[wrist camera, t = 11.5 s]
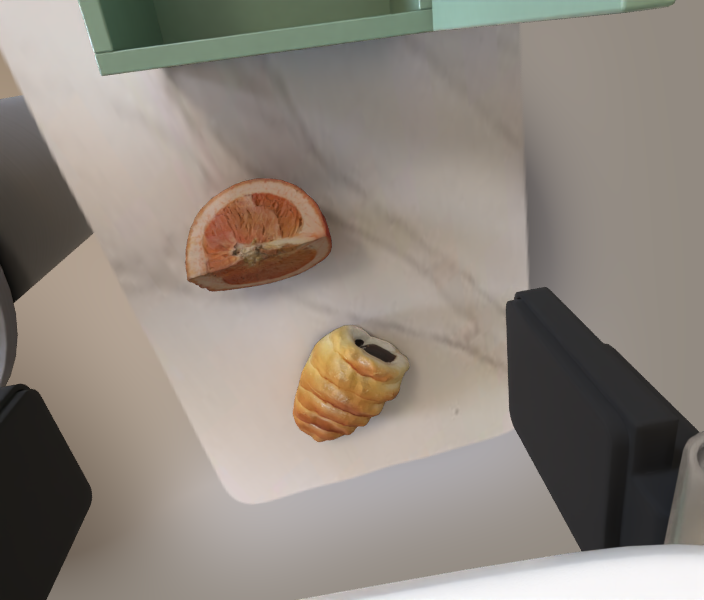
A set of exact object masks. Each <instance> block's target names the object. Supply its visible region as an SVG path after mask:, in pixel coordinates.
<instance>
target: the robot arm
mask: <svg viewBox="0 0 704 600" xmlns="http://www.w3.org/2000/svg"><path fill="white" fill-rule="evenodd" d="M506 325H507V356H508V386H509V411H510V417H511V420H512V423H513V426H514V428H515V430H516V432H517V434H518V435H519V437H520V439H521V441H522V443H523V445H524V446H525V448H526V450H527V452H528V454H529V456H530V457H531V459H532V461H533V463H534V465H535V466H536V468H537V470H538V472H539V474H540V476H541V477H542V479H543V481H544V483H545V485H546V487H547V489H548V490H549V492H550V494H551V496H552V498H553V500H554V501H555V503H556V505H557V507H558V509H559V511H560V512H561V514H562V516H563V518H564V520H565V522H566V523H567V525H568V527H569V529H570V531H571V533H572V534H573V536H574V538H575V540H576V542H577V543H578V545H579V547H580V549H581V551H582V552H573V553H567V554H560V555H554V556H548V557H542V558H536V559H529V560H523V561H517V562H511V563H504V564H498V565H492V566H486V567H480V568H473V569H467V570H461V571H456V572H450V573H445V574H438V575H433V576H427V577H422V578H416V579H411V580H405V581H399V582H394V583H388V584H382V585H377V586H371V587H366V588H360V589H354V590H349V591H343V592H337V593H332V594H326V595H321V596H315V597H309V598H304V599H298V600H704V431H703V432H699V431H698V430H697V429H696V428H695V427H694V426H693V425H692V424H691V423H690V422H689V421H688V420H687V419H686V418H685V417H683V416H682V415H681V414H680V413H679V412H678V411H677V410H676V409H675V408H674V407H673V406H672V405H671V404H670V403H669V402H668V401H667V400H666V399H665V398H664V397H663V396H662V395H661V394H660V393H659V392H658V391H657V390H656V389H655V388H654V387H653V386H652V385H651V384H650V383H649V382H648V381H647V380H646V379H645V378H644V377H643V376H642V375H641V374H640V373H639V372H638V371H637V370H636V369H635V368H634V367H632V365H631V364H630V363H628V362H627V360H626V359H624V358H623V357H622V356H621V355H620V354H619V353H618V352H617V351H616V350H615V349H614V348H613V347H612V346H610V345H609V344H604V343H602V342H601V341H600V340H599V339H598V338H597V337H596V336H595V335H594V334H593V333H592V332H591V331H590V330H589V328H588V327H586V325H584V323H583V322H582V321H581V320H580V319H579V318H578V317H576V315H575V314H573V312H572V311H571V310H570V309H569V308H568V307H567V306H566V305H564V304H563V303H562V302H561V300H560V299H559V298H558V297H556V295H555V294H553V293H552V291H550V290H549V289H548V288H547V287H543V288H537V289H531V290H526V291H521V292H517V293H516V294H515V297H514V300H512V301H508V302H507V304H506ZM91 501H92V491H91V487H90V485H89V483H88V482H87V480H86V478H85V476H84V474H83V472H82V470H81V469H80V467H79V465H78V463H77V461H76V459H75V457H74V456H73V454H72V452H71V451H70V449H69V446H68V445H67V443H66V441H65V439H64V437H63V435H62V434H61V432H60V430H59V428H58V426H57V424H56V423H55V421H54V419H53V417H52V415H51V414H50V412H49V410H48V408H47V406H46V404H45V403H44V401H43V399H42V397H41V396H40V394H39V393H38V392H37V391H36V390H33V389H30V388H29V387H28V386H26V385H24V384H17V385H11V386H6V387H0V600H46V599H47V597H48V595H49V593H50V591H51V589H52V586H53V584H54V582H55V580H56V578H57V576H58V574H59V572H60V569H61V567H62V565H63V563H64V561H65V559H66V557H67V554H68V552H69V550H70V548H71V546H72V544H73V542H74V540H75V537H76V535H77V533H78V531H79V529H80V527H81V524H82V522H83V520H84V518H85V516H86V514H87V512H88V510H89V507H90V505H91Z"/></svg>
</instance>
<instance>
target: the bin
mask: <svg viewBox="0 0 704 600" xmlns="http://www.w3.org/2000/svg"><path fill="white" fill-rule="evenodd" d="M78 3H79V6H80V10H81V13H82V16H83V19H84V22H85V26H86V29H87V32H88V35H89V38H90V42H91V45H92V48H93V51H94V53H96V54H95V58H96V61H97V65H98V68H99V71H100V74H101V76H106V75H113V74H121V73H128V72H136V71H143V70H150V69H158V68H165V67H173V66H180V65H188V64H195V63H202V62H210V61H217V60H225V59H232V58H239V57H247V56H254V55H262V54H269V53H277V52H284V51H291V50H299V49H306V48H314V47H321V46H329V45H336V44H343V43H351V42H358V41H366V40H373V39H381V38H388V37H395V36H403V35H410V34H418V33H425V32H433V31H434V30H433V13H432V0H78Z"/></svg>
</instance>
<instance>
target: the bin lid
mask: <svg viewBox="0 0 704 600" xmlns="http://www.w3.org/2000/svg"><path fill="white" fill-rule="evenodd" d="M674 3H675V0H432V13H433V30H434V31H443V30H453V29H463V28H474V27H484V26H494V25H504V24H515V23H525V22H535V21H546V20H556V19H566V18H576V17H587V16H597V15H606V14H617V13H627V12H634V11H642V10H649V9H657V8H664V7H669V6H670V5H673V4H674Z"/></svg>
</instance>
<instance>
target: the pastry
mask: <svg viewBox="0 0 704 600" xmlns="http://www.w3.org/2000/svg"><path fill="white" fill-rule="evenodd" d="M408 369H409V362H408V359H407V357H406V356H404V355H402V354H401V353H400V352H399V351H398V350H397V349H396V348H395V347H394V346H393V345H392V344H390V343H388V342H387V341H384V340H381V339H379V338H375V337H371V336H369V335H368V333H367V332H366V331H365V330H363V329H361V328H359V327H357V326H355V325H347V326H342V327H340V328H338V329H336V330H334V331H332V332H331V333H329V334H328V335H326V336H325V337H323V338H322V339H321V340H320V341H319V342H318V343H317V344H316V345H315V347H314V349H313V350H312V352H311V355H310V357H309V359H308V361H307V363H306V365H305V367H304V369H303V371H302V374H301V378H300V381H299V386H298V389H297V392H296V395H295V401H294V409H293V416H294V419H295V422H296V424H297V426H298V427H299V429H300V430H301V431H303V432H305V433H306V434H308V435H310V436H311V437H312V438H313V439H314V440H316V441H317V442H323V441H326V440H334V439H336V438H338V437H341V436H343V435H350V434H351V433H353V432H354V431H355V429H356V428H357V427H358V426H365V425H366V424H367V423H368V422H369V420H370V418H371V417H374V416H376V415H378V414H379V413H380V412H381V410H382V408H383V406H384V404H385V402H386V401H389V400H392V399H394V398H395V397H396V396H397V394H398V393H399V390H400V384H401V381H402V378H403V376H404V374H405V372H406V371H407V370H408Z"/></svg>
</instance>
